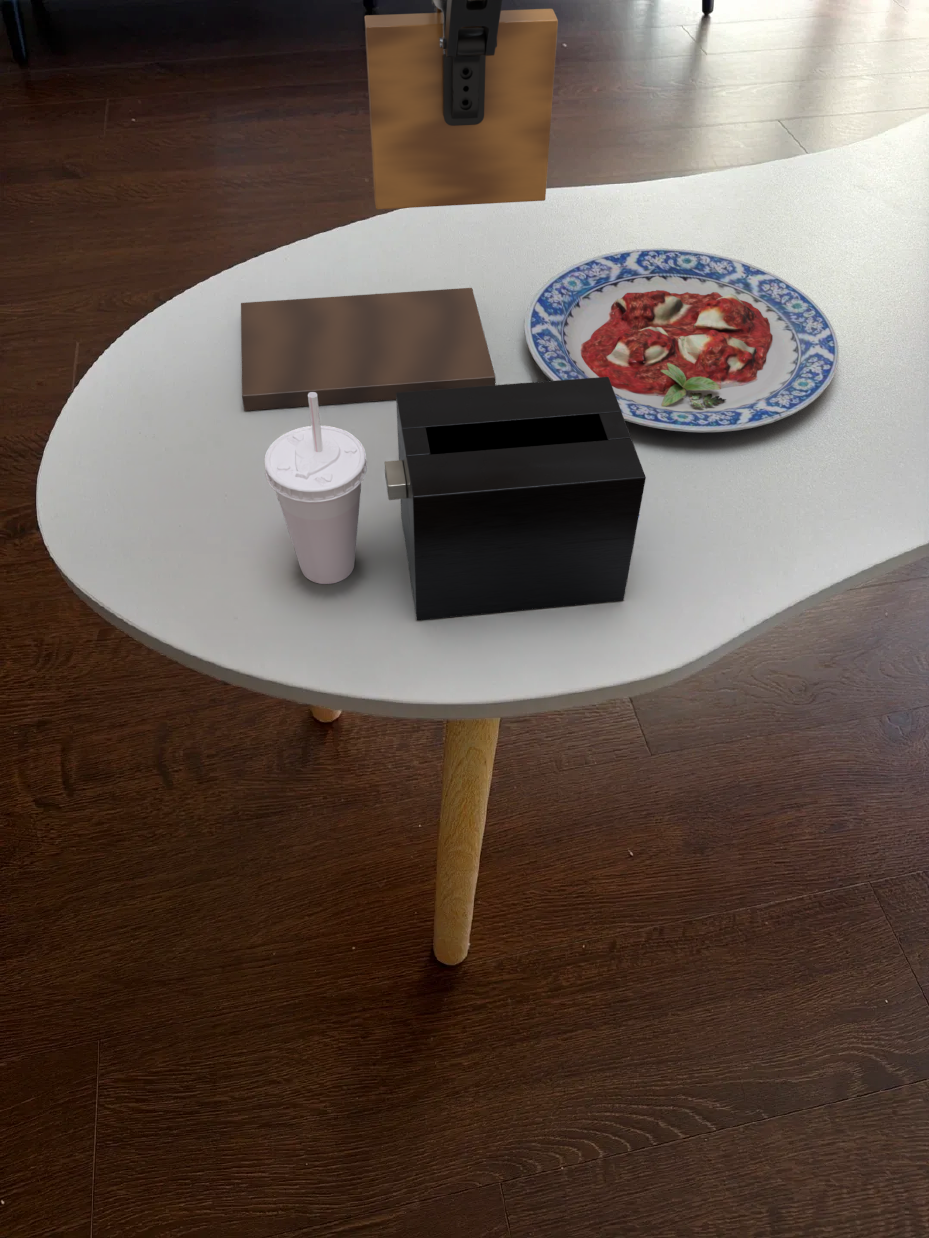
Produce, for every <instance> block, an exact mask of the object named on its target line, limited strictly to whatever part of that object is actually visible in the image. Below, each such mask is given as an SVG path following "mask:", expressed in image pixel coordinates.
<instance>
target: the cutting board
mask: <svg viewBox="0 0 929 1238" xmlns="http://www.w3.org/2000/svg"><path fill="white" fill-rule="evenodd" d="M486 339H487V338H486V336H485V332H484V328H483V324H482V320H481V317H480V313H479V309H478V305H477V301H476V298H475V294H474V291H473V287H461V288H459V287H458V288H446V289H445V288H444V289H443V288H442V289H432V290H431V289H429V290H415V291H414V290H413V291H399V292H384V293H369V294H354V295H353V294H352V295H339V296H338V295H337V296H323V297H311V298H310V297H309V298H308V297H307V298H294V299H279V300H278V299H277V300H264V301H263V300H262V301H247V302H240V345H241V346H240V350H241V355H240V357H241V399H242V405H243V410H244V411H245V412H249V411H261V410H262V411H263V410H274V409H277V410H278V409H288V408H303V407H309V401H308V394H309V393H310V392H315V393H317V398H318V406H328V405H340V404H341V405H342V404H354V403H355V404H356V403H366V402H368V403H369V402H380V401H393V400H395V401H396V393H398V392H411V391H424V390H437V389H451V388H464V387H477V386H490V385H496V373H495V370H494V366H493V363H492V362H493V361H492V359H491V355H490V351H489V347H488V343H487V340H486Z"/></svg>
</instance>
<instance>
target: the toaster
mask: <svg viewBox="0 0 929 1238" xmlns="http://www.w3.org/2000/svg"><path fill="white" fill-rule="evenodd" d="M395 401H396V403H395V404H396V406H395V407H396V427H397V429H396V430H397V451H398V460H387V461H386V460H385V461H384V463H383V465H384V478H385V485H386V493H387V499H388V500H389V501H393V500H400V504H399V505H400V519H401V527H402V532H403V539H404V546H405V553H406V560H407V567H408V574H409V580H410V586H411V593H412V599H413V608H414V612H415V614H414V615H415V620H416V621H417V622H418V621H429V620H438V619H449V618H458V617H468V616H478V615H489V614H500V613H511V612H519V611H530V610H542V609H551V608H561V607H571V606H573V607H574V606H583V605H592V604H603V603H604V604H605V603H613V602H623V601H624V599H625V594H626V589H627V583H628V579H629V572H630V569H631V562H632V558H633V557H632V556H633V551H634V545H635V540H636V534H637V530H638V529H637V528H638V523H639V518H640V513H641V506H642V501H643V497H644V491H645V485H646V479H647V476H646V473H645V471H644V469H643V465H642V463H641V460H640V458H639V455H638V452H637V450H636V447H635V445H634V442H633V438H632V436H631V433H630V431H629V428H628V425H627V423H626V421H625V420H624V417H623V415H622V412H621V409H620V406H619V404H618V401H617V398H616V395H615V393H614V390H613V387H612V385H611V382H610V379H609V377H597V378H583V379H570V380H557V381H552V380H546V381H532V382H530V381H529V382H517V383H506V384H495V385H490V386H477V387H464V388H451V389H437V390H424V391H411V392H398V393H396V399H395Z"/></svg>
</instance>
